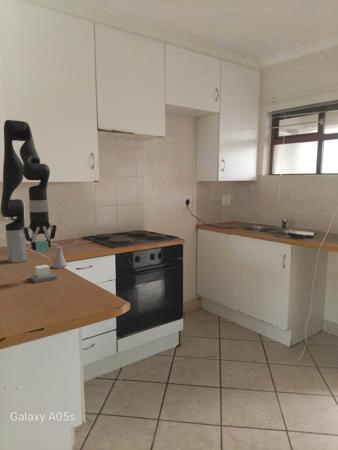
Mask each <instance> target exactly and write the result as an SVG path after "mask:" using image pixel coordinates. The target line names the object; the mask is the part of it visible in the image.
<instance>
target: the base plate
mask: <svg viewBox="0 0 338 450" xmlns="http://www.w3.org/2000/svg"><path fill="white" fill-rule="evenodd" d="M28 276H29V279H30V281H32V282H33V283H34V284H39V283H44V282H49V281H55V280H57V275H56V274H54V273H53V272H51V271H50V276H46V277H40V278H38V277H37V276H36V275H35V273H32V274H29V275H28Z"/></svg>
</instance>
